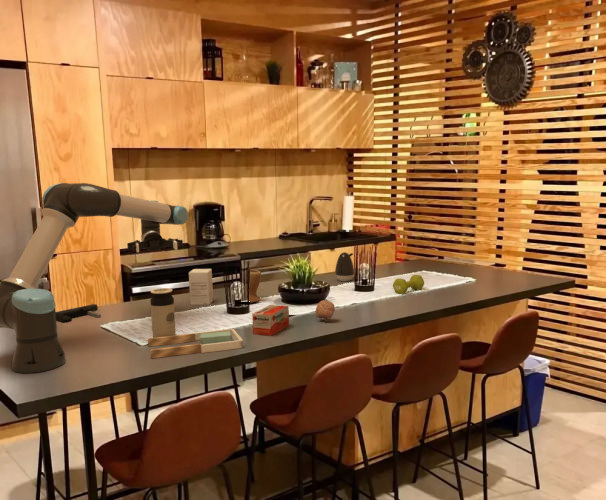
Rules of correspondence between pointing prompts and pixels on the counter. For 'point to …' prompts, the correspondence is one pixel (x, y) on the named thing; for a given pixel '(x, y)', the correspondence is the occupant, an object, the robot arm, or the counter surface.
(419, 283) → the dumbbell
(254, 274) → the brown boot
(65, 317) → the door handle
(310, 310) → the counter surface
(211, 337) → the chip
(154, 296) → the travel mug
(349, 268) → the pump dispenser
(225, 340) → the chip
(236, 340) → the tray
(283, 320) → the medicine box
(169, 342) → the slot rails
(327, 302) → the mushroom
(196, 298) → the supplement box
